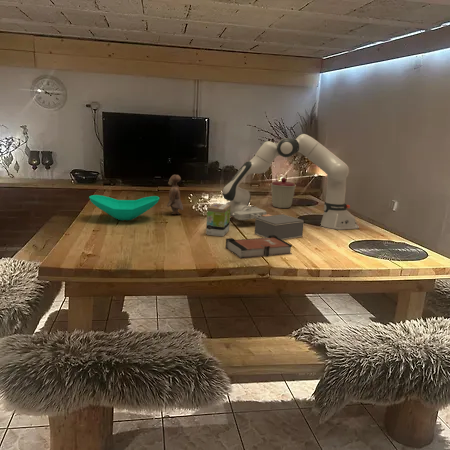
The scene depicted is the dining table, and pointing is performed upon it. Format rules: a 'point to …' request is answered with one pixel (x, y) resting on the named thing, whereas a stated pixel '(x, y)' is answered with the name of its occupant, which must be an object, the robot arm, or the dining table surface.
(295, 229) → the box
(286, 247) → the book
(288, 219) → the lid
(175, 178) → the clay figurine
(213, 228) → the tea box
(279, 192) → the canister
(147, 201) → the table top decor
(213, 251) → the dining table surface
